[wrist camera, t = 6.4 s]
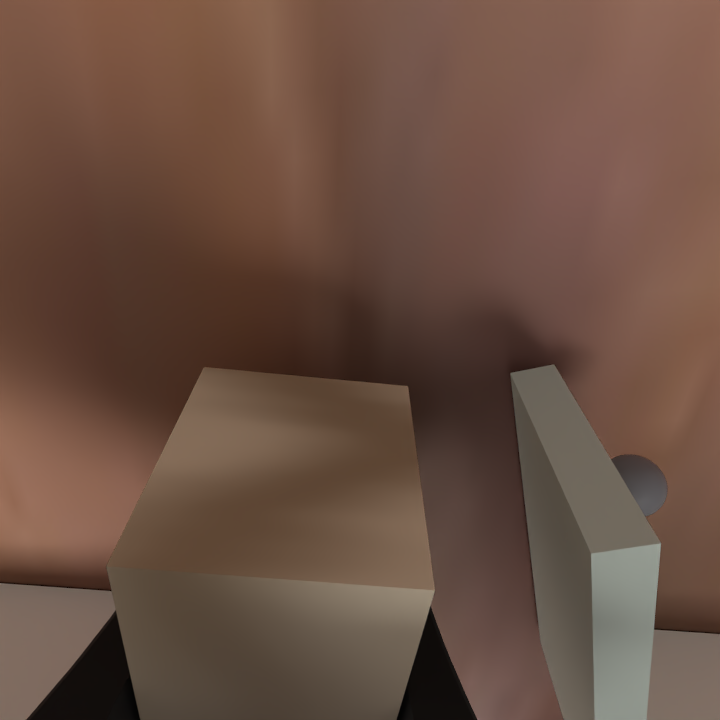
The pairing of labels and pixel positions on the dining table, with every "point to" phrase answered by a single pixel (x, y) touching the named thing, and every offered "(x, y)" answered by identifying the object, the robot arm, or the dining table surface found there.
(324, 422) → the birch block
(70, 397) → the dining table surface
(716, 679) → the wall frame
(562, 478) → the door
